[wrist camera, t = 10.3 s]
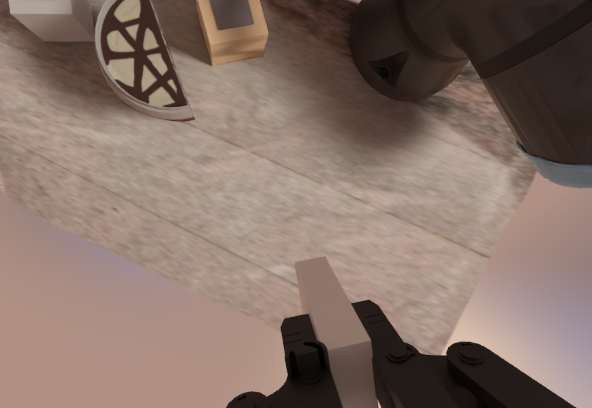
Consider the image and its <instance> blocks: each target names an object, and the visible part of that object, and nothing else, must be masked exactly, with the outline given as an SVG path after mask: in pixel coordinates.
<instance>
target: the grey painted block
mask: <svg viewBox="0 0 592 408" xmlns="http://www.w3.org/2000/svg"><path fill="white" fill-rule="evenodd" d="M9 7H10V14H11V15H13V16H14V17H15V18H16V19H17V20H19V21H20V22H21V23H22V24H23V25H24V26H26V27H27V28H28V29H29V30H30V31H32V32H33V33H34V34H35V35H36V36H38V37H39V38H40V39H41V40H42V41H43V42H90V41H94V25H93V16H92V7H91V0H9Z"/></svg>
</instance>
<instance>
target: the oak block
mask: <svg viewBox="0 0 592 408" xmlns="http://www.w3.org/2000/svg"><path fill="white" fill-rule="evenodd" d="M196 6H197V13H198V17H199V20H200V24H201V28H202V31H203V35H204V38H205V42H206V45H207V49H208V53H209V56H210V60H211V63H212V66H217V65H222V64H227V63H232V62H237V61H242V60H246V59H251V58H256V57H261V56H263V53H264V49H265V45H266V42H267V38H268V34H269V33H268V29H267V26H266V22H265V18H264V14H263V11H262V7H261V3H260V0H196Z"/></svg>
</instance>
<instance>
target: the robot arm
mask: <svg viewBox="0 0 592 408" xmlns="http://www.w3.org/2000/svg"><path fill="white" fill-rule="evenodd" d="M350 44H351V50H352V54H353V58H354V61H355V63H356V65H357V67H358V69H359V71H360V73H361V74H362V76H363V77H364V78H365V79H366V81H367V82H368V83H369V84H370V85H371V86H372V87H373V88H375V89H376V90H377V91H379V92H380V93H382V94H384V95H386V96H388V97H390V98H393V99H397V100H402V101H415V100H420V99H424V98H427V97H429V96H431V95H433V94H435V93H437V92H439V91H441V90H442V89H444V88H445V87H447V86H448V85H449V84H450V83H451V82H453V80H454V79H455V78H456V77H457V76H458V74H459V73H460V71H461V70H462V69H463V67H464V66H465V65H466V64H467V62H468V61H469V60H470V61H471V63H472V65H473V66H474V68H475V70H476V71H477V73H478V75H479V76H480V79H481V80H482V82H483V84H484V86H485V87H486V89H487V91H488V92H489V94H490V96H491V97H492V99H493V101H494V102H495V104H496V106H497V107H498V109H499V111H500V112H501V114H502V116H503V117H504V119H505V121H506V123H507V124H508V126H509V128H510V129H511V131H512V133H513V134H514V136H515V138H516V139H517V145H518V147H519V149H520V150H521V151H522V152H523V153H524V154H525V155H526V156H528V158H529V159H530V161H531V162H532V164H533V165H534V167H535V168H536V170H537V171H538V172H539V173H540V174H541V175H542V176H543V177H544V178H547V179H549V180H550V181H551V182H554V183H555V184H558V185H561V186H565V187H571V188H579V189H592V0H361V2H360V3H359V5H358V6H357V8H356V10H355V13H354V15H353V18H352V22H351V28H350ZM295 268H296V274H297V280H298V286H299V292H300V298H301V305H302V311H303V315H299V316H295V317H290V318H285V319H284V321H283V323H282V325H281V333H282V339H283V345H284V351H285V362H286V368H287V373H288V376H287V379H286V382H285V383H284V385H283V386H282V387H281V388H280V389H279V390H277V391H276V392H274V393H273V394H271V395H269V396H267V397H266V396H265V395H263V394H262V393H260V392H252V391H251V392H246V393H243V394H241V395H239V396H237V397H235V398H234V399H233V400H232V401H231V402H230V403H229V404H228V406H227V407H226V408H378V401H379V403H380V405H381V408H576V407H574V406H573V405H571V404H570V403H568V402H567V401H565V400H564V399H562V398H561V397H559V396H558V395H556V394H555V393H553V392H552V391H550V390H549V389H547V388H546V387H544V386H543V385H541V384H540V383H538V382H537V381H535V380H534V379H532V378H531V377H529V376H528V375H526V374H525V373H523V372H522V371H520V370H519V369H517V368H516V367H514V366H513V365H511V364H510V363H508V362H507V361H505V360H504V359H502V358H501V357H499V356H498V355H496V354H495V353H493V352H492V351H490V350H489V349H487V348H485V347H484V346H481V345H480V344H477V343H472V342H458V343H454V344H452V345H451V346H450V347H448V350H447V352H446V354H447V356H442V355H424V354H421V353H419V351H418V350H417V349H416V348H415V347H414V346H412V345H410V344H408V343H405V342H403V341H402V339H401V338H400V336H399V335H398V333H397V332H396V330H395V329H394V328H393V326H392V325H391V323H390V322H389V321H388V319H387V317H386V316H385V314H384V313H383V312H382V310H381V309H380V307H379V306H378V305H377V304H375V303H373V302H372V301H370V300H365V301H361V302H356V303H350V301H349V299H348V298H347V296H346V294H345V292H344V290H343V288H342V287H341V285H340V283H339V281H338V279H337V278H336V276H335V274H334V272H333V270H332V269H331V267H330V265H329V263H328V261H327V259H326V258H325V257H320V258H315V259H310V260H305V261H300V262H295ZM377 399H378V400H377Z"/></svg>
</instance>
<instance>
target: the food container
mask: <svg viewBox="0 0 592 408" xmlns="http://www.w3.org/2000/svg"><path fill="white" fill-rule="evenodd" d="M94 45H95V52H96V56H97V59H98V63H99V66H100V69H101V72H102V74H103V76H104V78H105V80H106V82H107V83H108V84H109V86H110V87H111V89H112V90H113V91H114V92H115V93H116V94H117V96H118V97H119V98H120V99H122V100H123V101H124V102H125V103H127V104H128V105H129V106H131V107H132V108H134V109H136V110H138V111H139V112H142V113H144V114H147V115H149V116H152V117H157V118H161V119H167V120H171V121H180V122H182V121H190V120H195V118H194V115H193V113H192V110H191V107H190V104H189V102H188V99H187V96H186V93H185V91H184V88H183V85H182V82H181V80H180V77H179V74H178V71H177V69H176V66H175V63H174V60H173V58H172V55H171V52H170V49H169V47H168V44H167V41H166V39H165V36H164V33H163V31H162V28H161V25H160V23H159V20H158V17H157V15H156V12H155V9H154V7H153V4H152V1H151V0H106V1H105V3H104V5H103V6H102V8H101V10H100V13H99V15H98V18H97V21H96V26H95V32H94Z"/></svg>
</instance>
